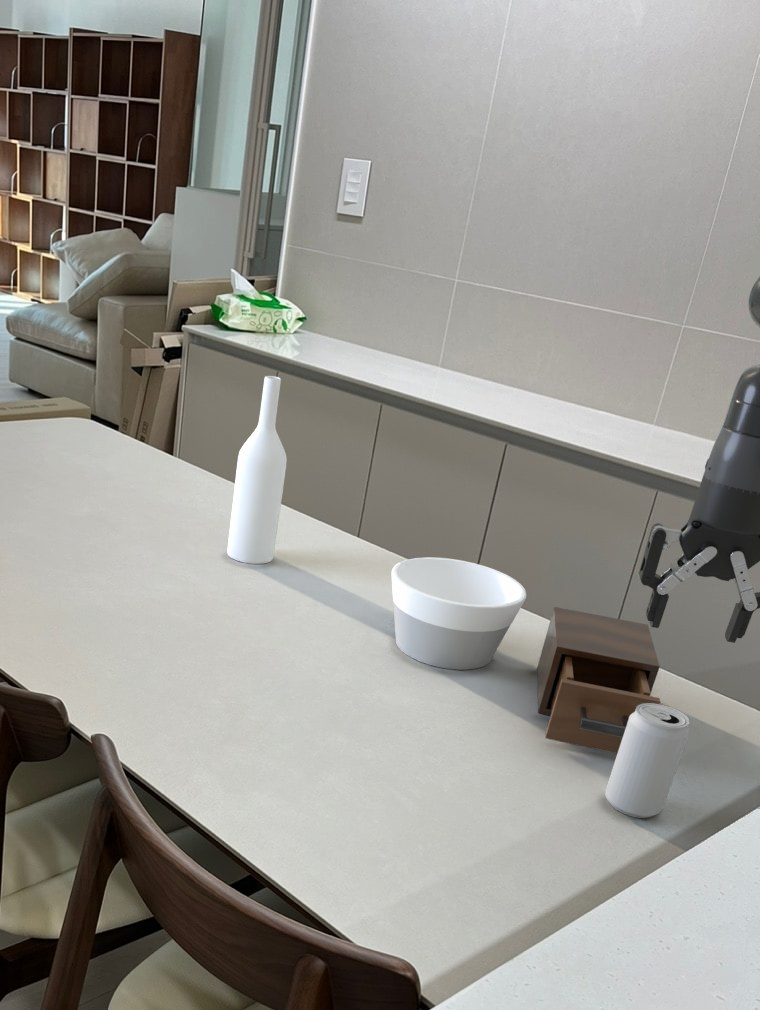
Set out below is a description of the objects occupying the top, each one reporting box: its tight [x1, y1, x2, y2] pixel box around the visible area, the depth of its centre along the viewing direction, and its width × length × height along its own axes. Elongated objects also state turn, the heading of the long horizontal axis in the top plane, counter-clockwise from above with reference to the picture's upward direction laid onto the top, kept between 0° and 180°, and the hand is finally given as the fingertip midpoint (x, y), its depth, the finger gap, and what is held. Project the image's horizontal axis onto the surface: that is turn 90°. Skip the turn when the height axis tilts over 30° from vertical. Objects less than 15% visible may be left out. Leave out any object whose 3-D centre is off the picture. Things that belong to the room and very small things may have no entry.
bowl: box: [391, 556, 527, 671], centre depth 153 cm, size 19×19×11 cm
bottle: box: [226, 375, 288, 565], centre depth 176 cm, size 8×8×30 cm
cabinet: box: [536, 606, 660, 717], centre depth 143 cm, size 15×13×10 cm
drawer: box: [545, 654, 661, 754], centre depth 133 cm, size 18×12×8 cm, turn 165°
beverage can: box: [604, 703, 690, 819], centre depth 119 cm, size 6×6×12 cm
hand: (691, 632), depth 111 cm, fingers open, 7 cm apart
